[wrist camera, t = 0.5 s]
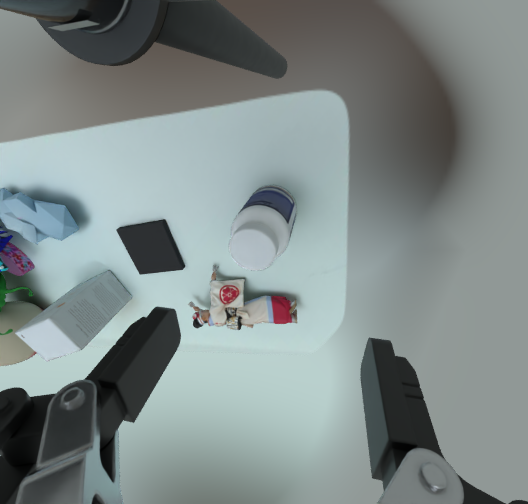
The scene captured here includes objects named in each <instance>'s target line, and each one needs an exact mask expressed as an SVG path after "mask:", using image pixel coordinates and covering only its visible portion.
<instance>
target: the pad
mask: <svg viewBox="0 0 528 504" xmlns="http://www.w3.org/2000/svg"><path fill="white" fill-rule="evenodd" d="M117 232H118V234H119V236H120V238H121V240H122V242H123V244H124V245H125V247H126V249H127V251H128V253H129V255H130V257H131V259H132V261H133V262H134V264H135V266H136V268H137V270H138V272H139V274H149V273H158V272H167V271H176V270H183V269H184V268H185V265H184V263H183V260H182V258H181V256H180V253H179V251H178V249H177V247H176V244H175V242H174V240H173V237H172V235H171V233H170V230H169V228H168V226H167V224H166V221H165V220H159V221H153V222H147V223H142V224H136V225H130V226H125V227H120V228H118V229H117Z"/></svg>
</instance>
